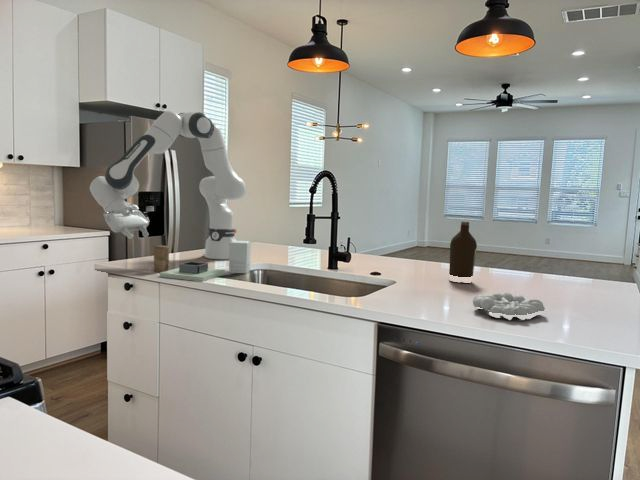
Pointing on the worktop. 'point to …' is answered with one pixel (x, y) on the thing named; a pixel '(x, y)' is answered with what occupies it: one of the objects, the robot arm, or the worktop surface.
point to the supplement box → (239, 256)
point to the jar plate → (189, 276)
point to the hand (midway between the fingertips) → (139, 237)
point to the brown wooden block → (161, 258)
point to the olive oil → (462, 253)
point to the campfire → (508, 304)
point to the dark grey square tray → (193, 267)
